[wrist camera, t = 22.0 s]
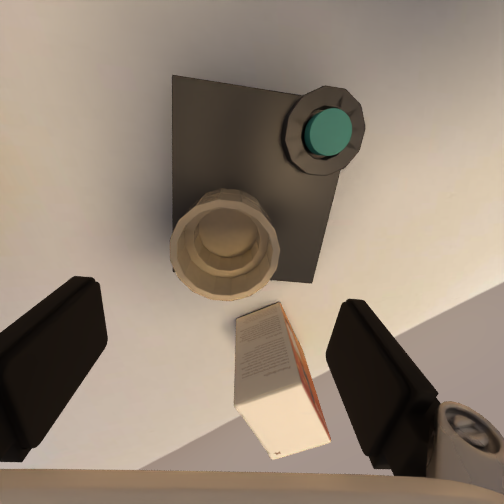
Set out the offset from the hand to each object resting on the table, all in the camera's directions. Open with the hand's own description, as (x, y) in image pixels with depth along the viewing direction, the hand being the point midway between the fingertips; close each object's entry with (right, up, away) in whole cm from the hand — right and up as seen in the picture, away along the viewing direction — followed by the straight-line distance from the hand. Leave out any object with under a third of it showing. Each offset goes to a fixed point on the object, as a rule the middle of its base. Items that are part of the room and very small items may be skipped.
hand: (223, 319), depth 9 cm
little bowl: (-1, +5, +12) cm, 13 cm away
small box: (+3, -7, +19) cm, 21 cm away
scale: (+1, +8, +13) cm, 15 cm away
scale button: (+7, +12, +9) cm, 16 cm away
